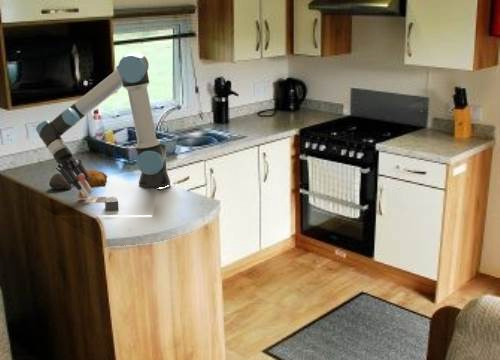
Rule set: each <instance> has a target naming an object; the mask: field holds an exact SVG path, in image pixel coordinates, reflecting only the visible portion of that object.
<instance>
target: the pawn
mask: <svg viewBox="0 0 500 360" xmlns="http://www.w3.org/2000/svg"><path fill="white" fill-rule="evenodd" d="M78 181H80V182H81V183H82V185H83V186H84V188H85V175H84V174H82V173H81V174H79V175H78ZM86 197H88V193H87V194H86V196H83V195H82V193H81V192H80V190H78V195H77V198H78V199H79V198H86Z"/></svg>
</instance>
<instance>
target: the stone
mask: <svg viewBox="0 0 500 360" xmlns="http://www.w3.org/2000/svg"><path fill="white" fill-rule="evenodd" d="M72 186H73V184H71V185H70V184H69V183H68V182H67V180H66V179H65V178H64V177H63V175H62V174H61V173H55V174H53V175H52V176H51V178H50V180H49V187H50V188H51V189H52V188H53V189H52V190H64V189H65V190H72Z"/></svg>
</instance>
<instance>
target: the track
mask: <svg viewBox="0 0 500 360" xmlns="http://www.w3.org/2000/svg"><path fill="white" fill-rule="evenodd" d="M109 198H117V197H116V196H87V197H86V198H78V199H77V201H76V203H79V204H81V203H83V204H85V203H86V204H88V203H89V204H91V203H99V204H100V203H104V204H105V199H109Z"/></svg>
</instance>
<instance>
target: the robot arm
mask: <svg viewBox="0 0 500 360" xmlns="http://www.w3.org/2000/svg"><path fill="white" fill-rule="evenodd" d="M148 71H149V61H148V59H147V57H146V56H145V55H144V54H143V53H140V52H137V51H136V52H131V53H128V54H125V55H123V56H122V58H121V59H120V60H119V63H118V65H117V66H116V69H115V70H114V71H113V72H112V73H111V74H109V75H108V76H107V77H105V78H104V79H103V80H102V81H100V82H99V83H97V84H96V86H94V87H93V88H92V89H90V90H89V91H88V92H87V93H85V94H84V95H83V96H82V97H80V98H79V99H78V100H76V102H74V103H73V104H72V105H71V106H69V107H68V108H66V109H65V110H63V111H62V112H61V113H60V114H59V115H57V116H56V117H55V118H54V119H53V120H51V121H50V120H48V119H47V120H42V122H39V123H38V124H37V125H36V127H35V131H36V133H37V134H38V136H39V138H40V139H41V141H42V142H43V144H44V145H45V147H46V148H47V149H48V151H49V153H50V154H51V155H52V157H53V159H54V160H55V162H56V163H57V165H56V167H55V170H57V171H58V172H59V174H61V175H63V177H64V178H65V179H66V180H67V182H68V183H69V184H70V185H72V186H74V187H75V188H76V189H77V190H78V191H79V190H80V192H81V193H82V195H83V196H86V194H87V195H89V196H90V195H91V194H93V192H94V190H93V189H92V188H93V187H90V184H89V182H88V181H87V178H88V177H89V176H88V174H87V172H86V170H87V169H86V168H85V166H84V165H83V162H82V159H80V158H79V159H76V158H74V157H73V153H72V151H71V150H70V149H69V148H68V146H67V144H66V143H65V141H64V140H63V138H62V136H63V134H65V133H66V132H67V131H70V129H71V128H73V126H75V125H76V124H77V123H79V122H80V121H81V120H82V119H84V118H85V117H86V116H87V115H88V114H89V113H91V112H92V111H93V110H95V108H97V107H98V106H99V105H101V104H102V103H103V102H105V101H106V100H107V99H108V98H110V97H111V96H113V94H115V93H116V92H118V91H119V90H120V89H122V87H123V89H126V91H127V94H128V95H127V96H128V100H129V105H130V109H131V116H132V119H133V121H132V122H133V124H134V129H135V135H136V140H137V143H136V145H135V146H134V148H135V153H136V166H137V168H138V170H139V171H140V172H141V173H140V177H139V179H138V187H139V188H144V189H148V188H149V189H150V190H152V189H151V188H159V187H165V186H167V185H170V186H171V179H170V177H169V173H168V171H167V144H166V143H167V142H166V140H164V139H159V138H157V136H156V135H157V133H156V129H155V124H154V118H153V112H152V107H151V102H150V97H149V93H148V86H149V84H150V80H149V79H150V78H149V72H148ZM81 173H82V174H84V175H85V188H84V186H83V185H82V183H81V182H80V181H78V180H77V178H76V176H78V175H79V174H81Z"/></svg>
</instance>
